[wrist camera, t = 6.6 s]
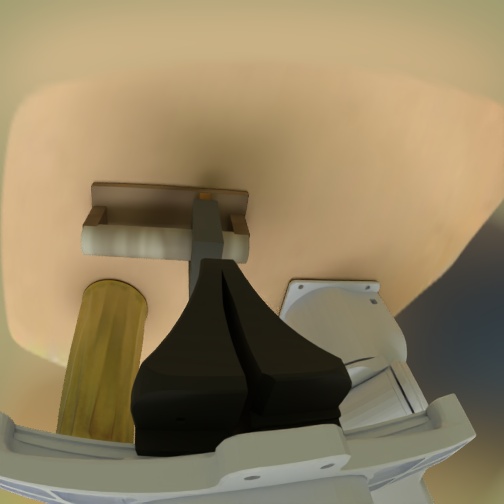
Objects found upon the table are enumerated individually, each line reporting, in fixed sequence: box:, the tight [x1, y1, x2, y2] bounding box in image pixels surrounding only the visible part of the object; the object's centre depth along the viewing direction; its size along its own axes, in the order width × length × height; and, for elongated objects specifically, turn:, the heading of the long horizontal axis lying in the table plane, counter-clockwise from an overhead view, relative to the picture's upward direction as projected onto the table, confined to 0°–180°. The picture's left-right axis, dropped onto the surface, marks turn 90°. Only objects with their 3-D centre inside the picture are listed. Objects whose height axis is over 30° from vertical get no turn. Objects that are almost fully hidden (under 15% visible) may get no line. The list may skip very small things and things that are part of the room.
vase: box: [56, 280, 148, 444], centre depth 21 cm, size 6×6×14 cm
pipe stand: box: [81, 183, 250, 263], centre depth 21 cm, size 11×5×4 cm, turn 80°
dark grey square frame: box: [189, 199, 224, 299], centre depth 20 cm, size 2×4×5 cm, turn 170°
